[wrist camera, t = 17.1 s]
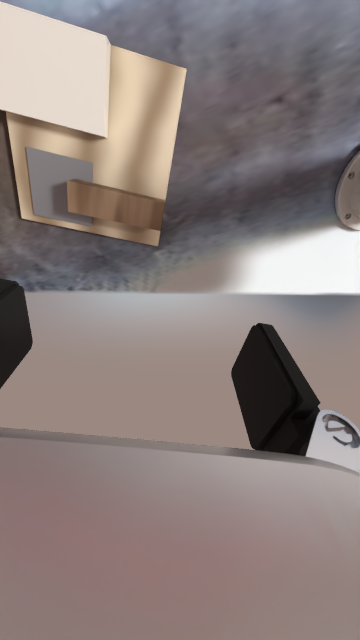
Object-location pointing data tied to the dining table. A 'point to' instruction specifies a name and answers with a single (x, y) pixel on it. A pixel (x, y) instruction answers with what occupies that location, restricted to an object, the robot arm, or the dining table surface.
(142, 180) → the board
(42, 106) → the tile
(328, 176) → the dining table surface
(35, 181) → the mat
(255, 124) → the dining table surface
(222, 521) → the robot arm
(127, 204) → the brown wooden block
